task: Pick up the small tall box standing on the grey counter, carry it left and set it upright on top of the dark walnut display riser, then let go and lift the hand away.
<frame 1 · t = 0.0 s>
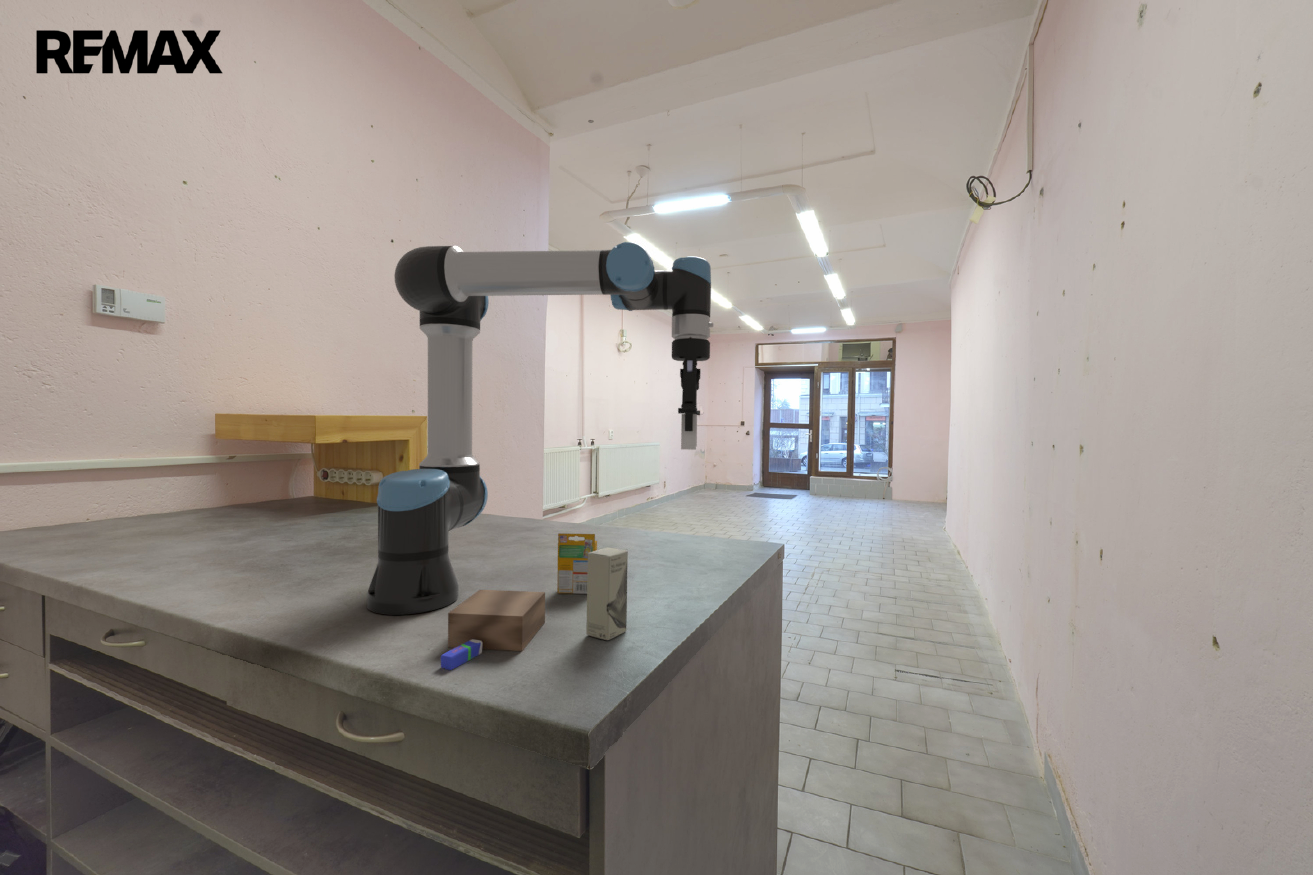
hand: (689, 448, 105), 28 cm above the worktop, tool pointing down, fingers open, 13 cm apart
box: (606, 634, 83), on the worktop
eraser: (462, 663, 73), on the worktop
crayon box: (577, 592, 104), on the worktop
riser: (499, 634, 82), on the worktop
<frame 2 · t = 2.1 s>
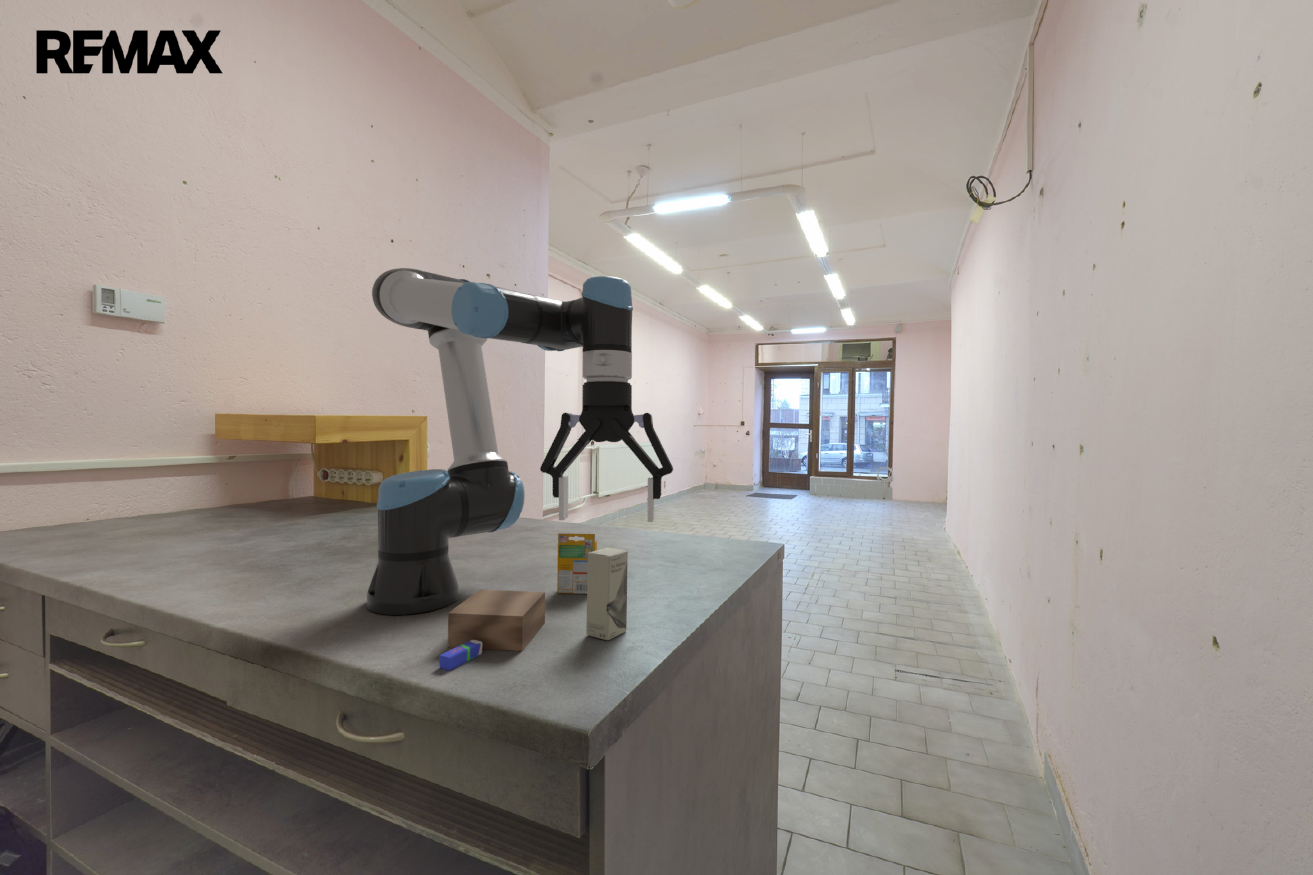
hand: (606, 519, 82), 18 cm above the worktop, tool pointing down, fingers open, 13 cm apart
nothing on the worktop moved.
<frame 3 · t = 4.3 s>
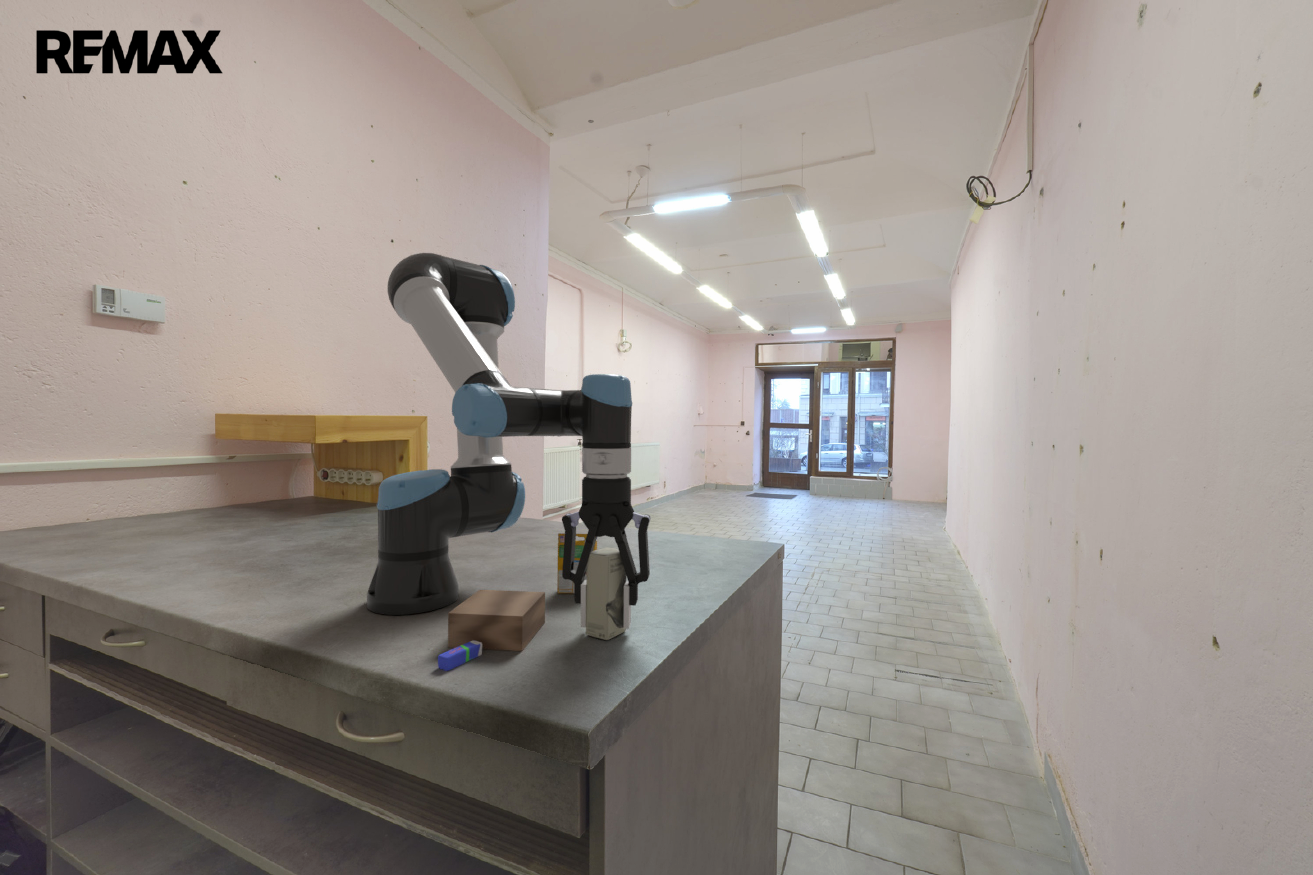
hand: (606, 624, 83), 2 cm above the worktop, tool pointing down, fingers closed on box, 6 cm apart
box: (606, 634, 83), on the worktop, touching gripper
everything else where it was.
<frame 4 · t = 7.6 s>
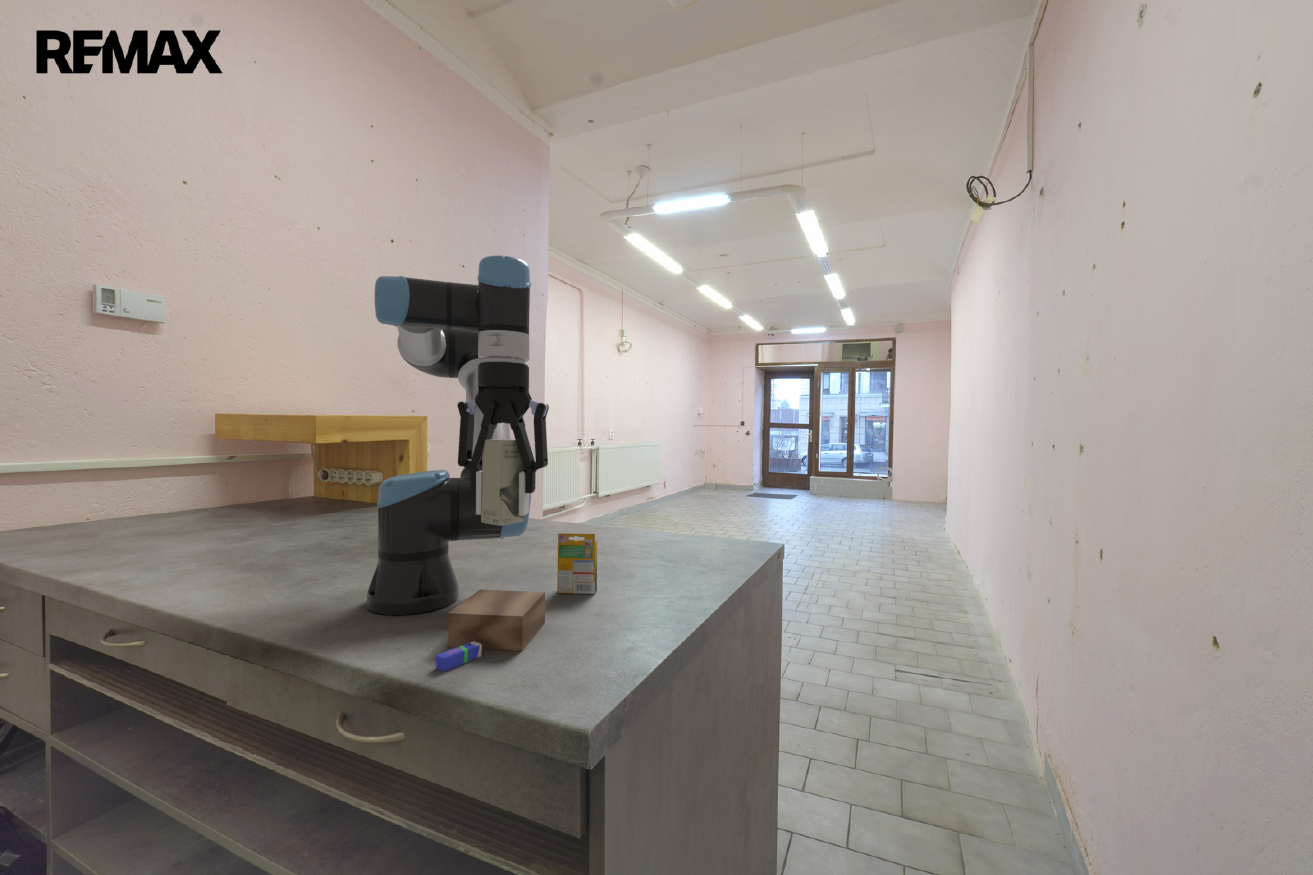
hand: (502, 513, 82), 19 cm above the worktop, tool pointing down, fingers closed on box, 6 cm apart
box: (503, 523, 82), point 17 cm above the worktop, touching gripper
everything else where it was.
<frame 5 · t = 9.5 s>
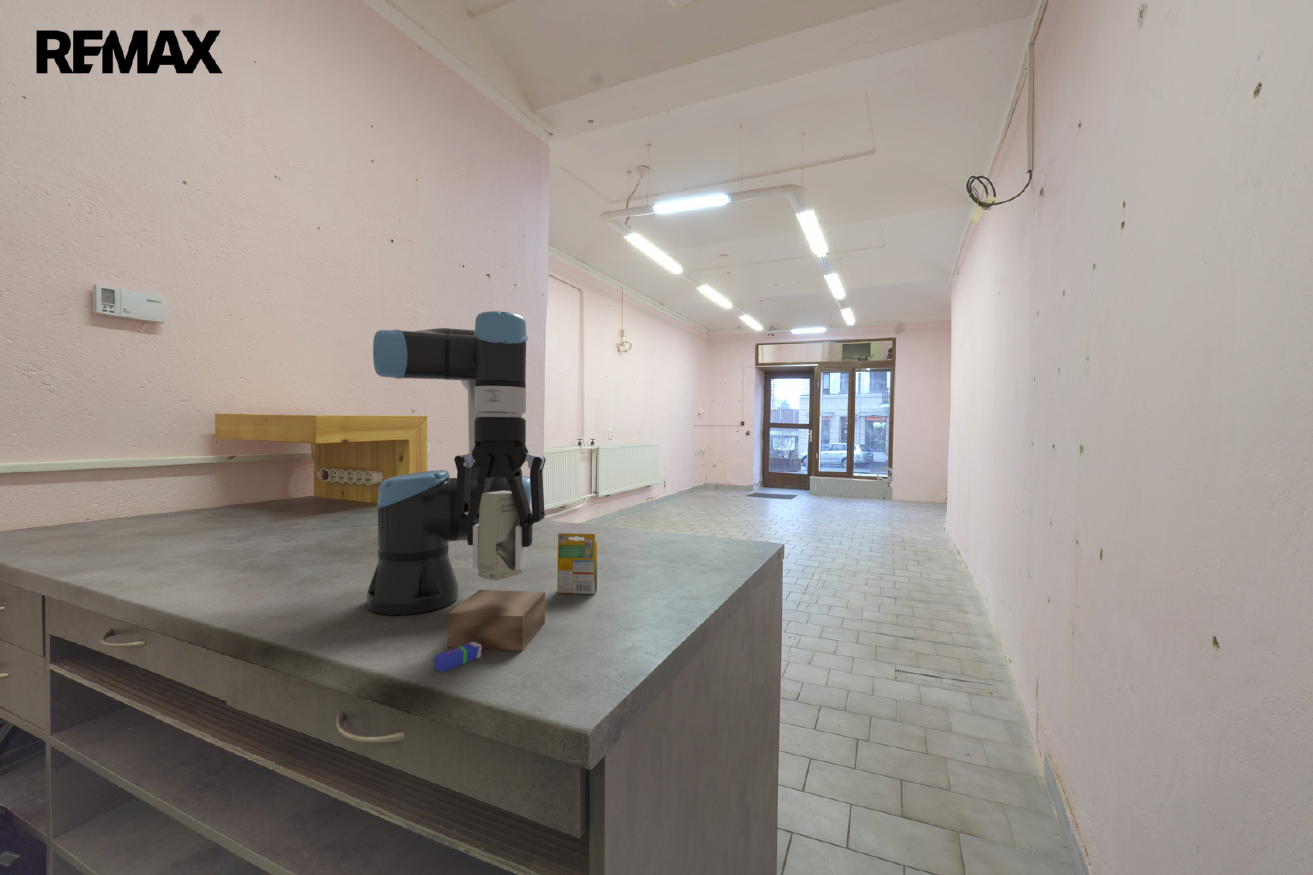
hand: (499, 566, 82), 10 cm above the worktop, tool pointing down, fingers closed on box, 6 cm apart
box: (500, 577, 82), point 9 cm above the worktop, touching gripper
everything else where it was.
when the fingers open (8 cm above the worktop, at t = 10.9 s): box drops 1 cm, resting on riser.
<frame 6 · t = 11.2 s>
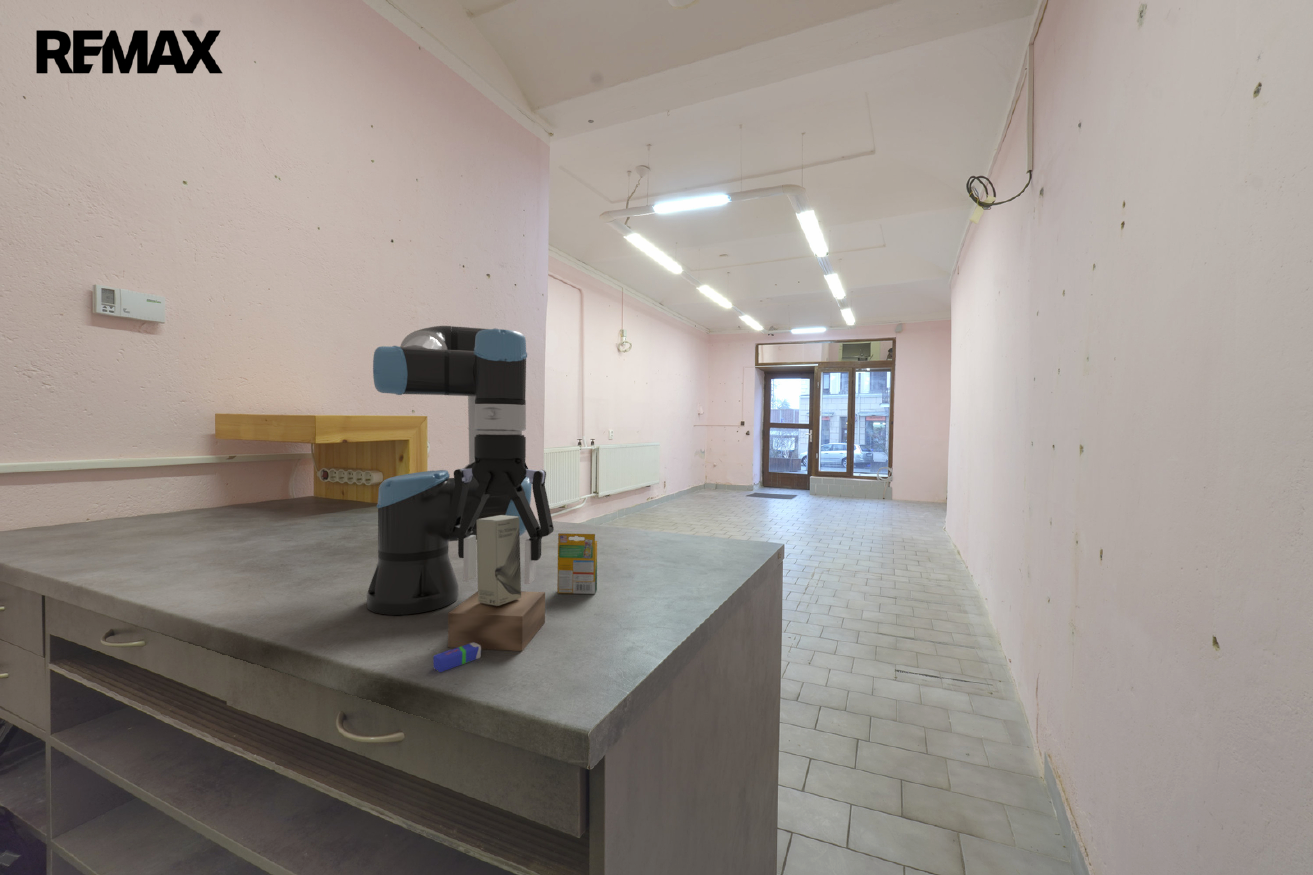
hand: (499, 579, 82), 8 cm above the worktop, tool pointing down, fingers open, 9 cm apart
box: (500, 601, 82), point 5 cm above the worktop, touching riser
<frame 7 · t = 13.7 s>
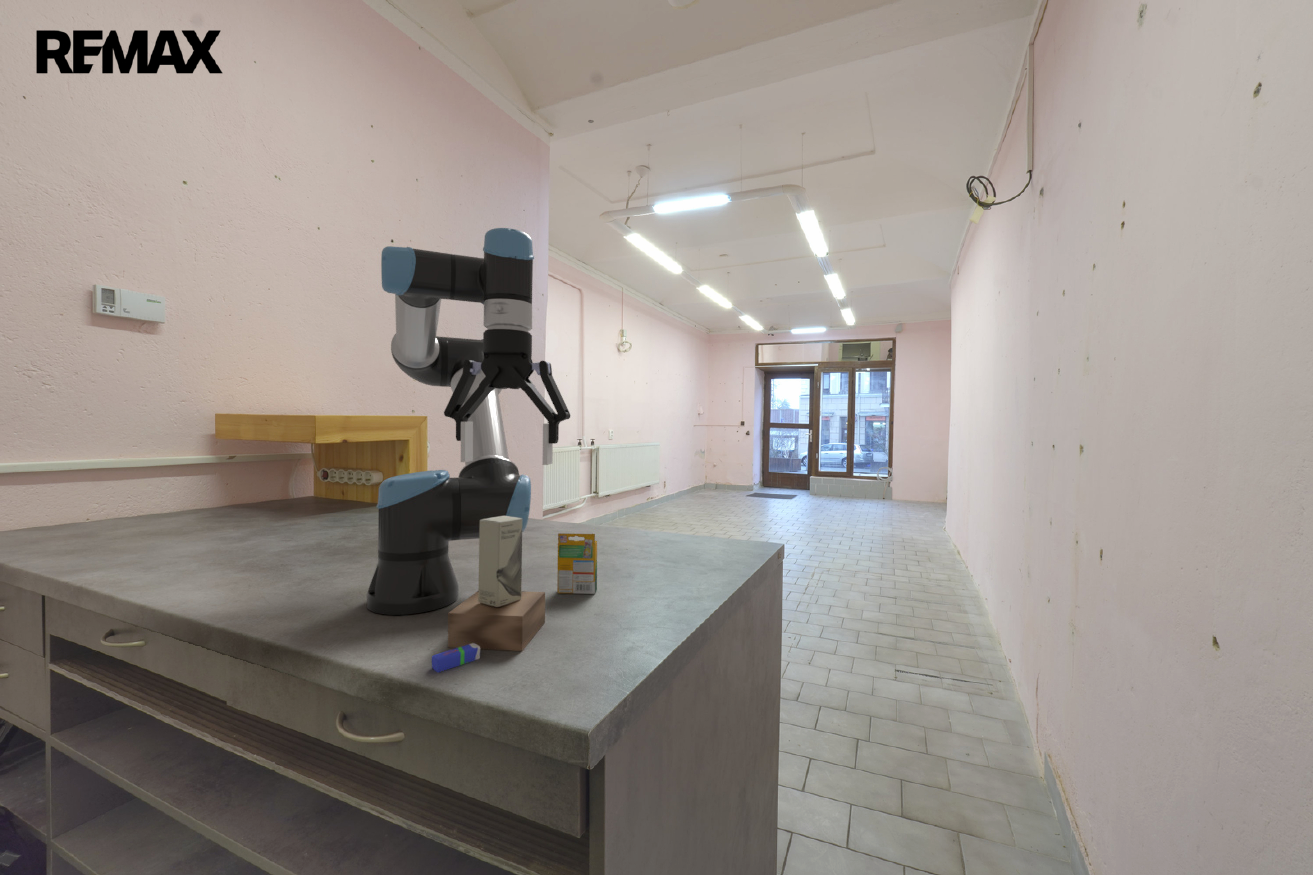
hand: (506, 463, 87), 26 cm above the worktop, tool pointing down, fingers open, 13 cm apart
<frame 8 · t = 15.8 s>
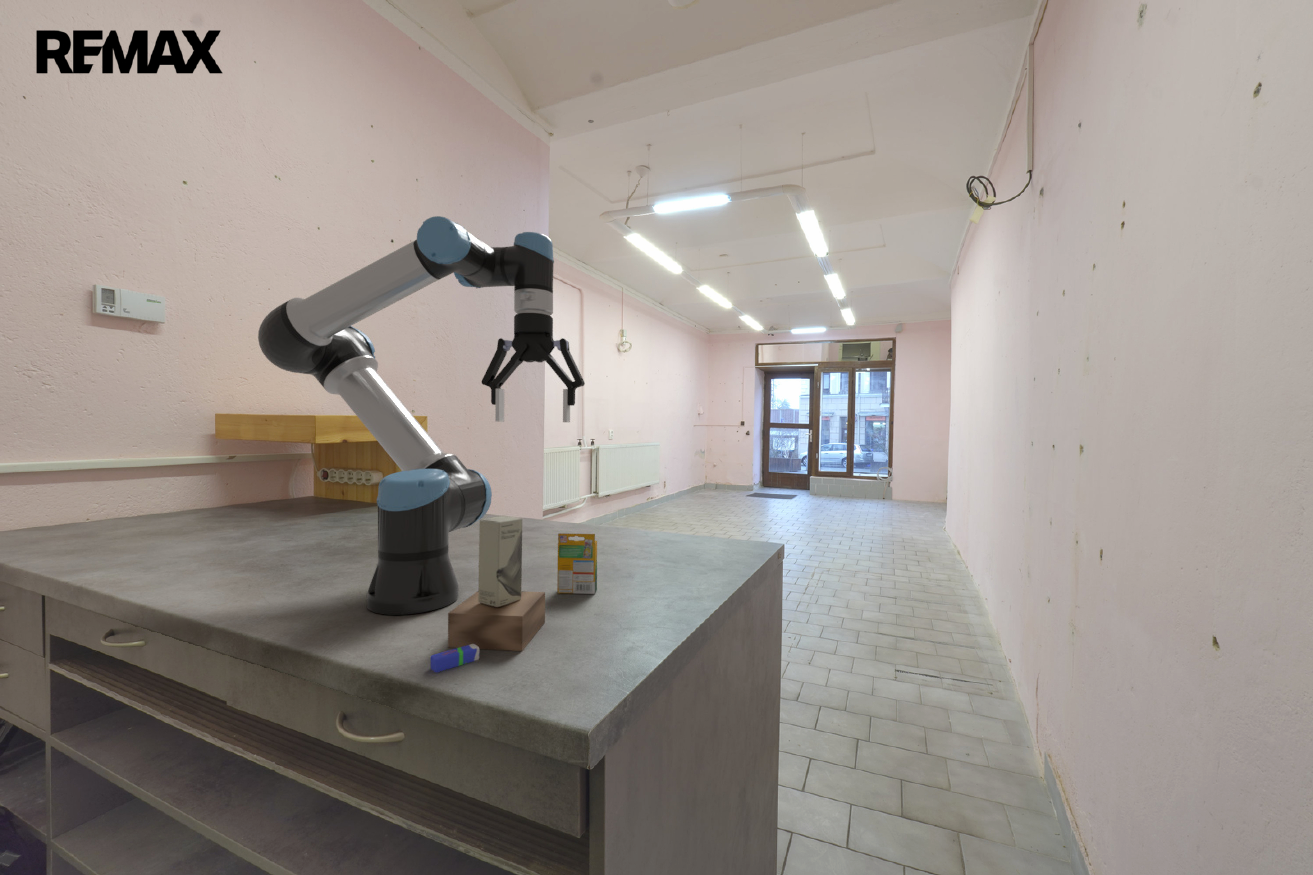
hand: (533, 422, 107), 33 cm above the worktop, tool pointing down, fingers open, 13 cm apart
at the end: box inside the target area on the riser (0.3 cm from its centre), point 4.8 cm above the riser's base; box tilted 0°; the gripper is holding nothing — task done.
